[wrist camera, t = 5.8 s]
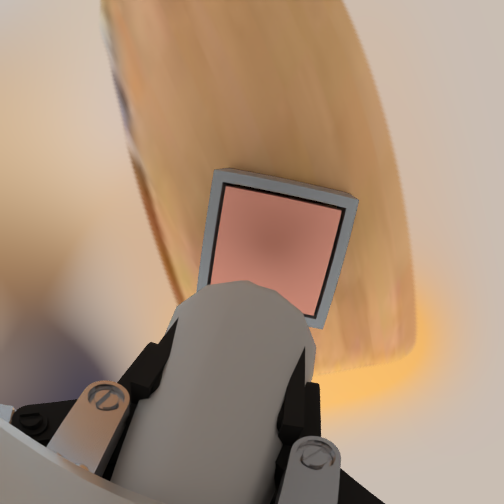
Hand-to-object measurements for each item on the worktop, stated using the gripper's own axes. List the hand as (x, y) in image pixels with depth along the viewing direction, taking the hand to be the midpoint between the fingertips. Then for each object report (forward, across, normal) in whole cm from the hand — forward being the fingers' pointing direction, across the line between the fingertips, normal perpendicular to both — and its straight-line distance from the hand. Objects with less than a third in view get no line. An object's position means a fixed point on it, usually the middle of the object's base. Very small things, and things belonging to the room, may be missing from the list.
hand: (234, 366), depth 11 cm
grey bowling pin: (+3, 0, 0) cm, 3 cm away
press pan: (+15, 0, 0) cm, 15 cm away
